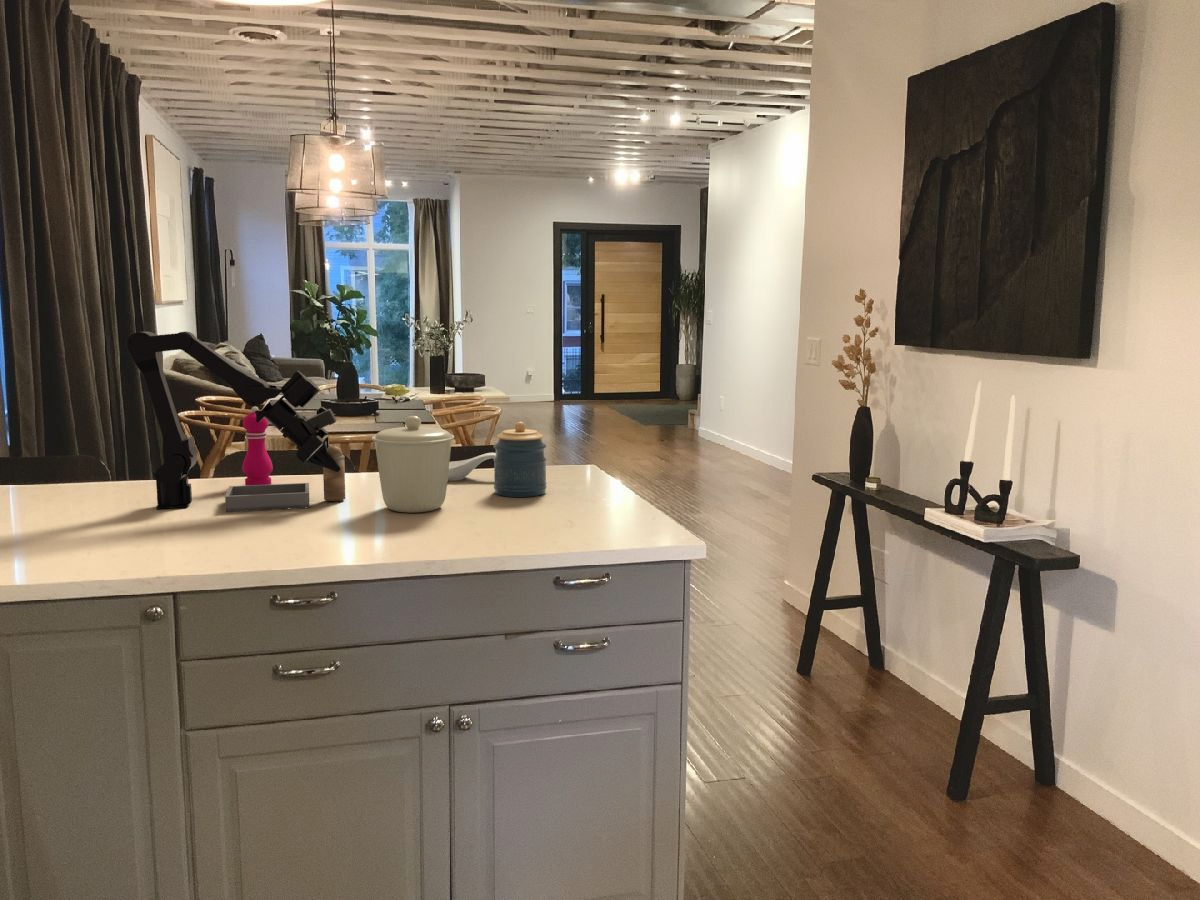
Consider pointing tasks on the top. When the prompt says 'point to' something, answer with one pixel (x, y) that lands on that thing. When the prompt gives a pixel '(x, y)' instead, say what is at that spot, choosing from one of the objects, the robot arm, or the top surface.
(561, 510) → the top surface
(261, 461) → the pepper mill
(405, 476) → the canister
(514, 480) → the canister
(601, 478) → the top surface
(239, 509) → the dish
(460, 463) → the spoon rest
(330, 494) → the shaker
